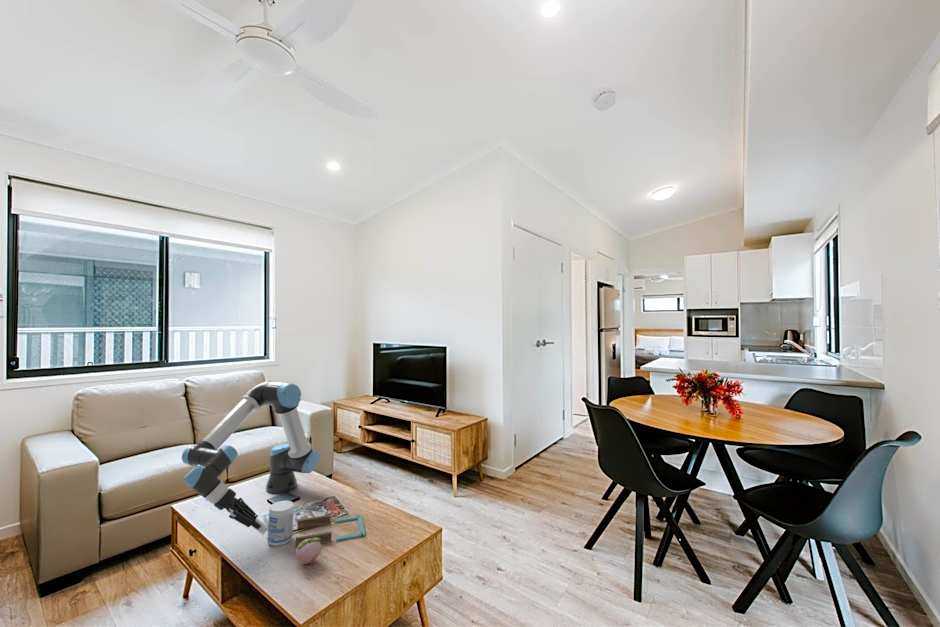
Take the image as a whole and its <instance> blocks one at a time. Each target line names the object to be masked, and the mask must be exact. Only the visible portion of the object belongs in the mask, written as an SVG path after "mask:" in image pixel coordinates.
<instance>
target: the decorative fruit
mask: <svg viewBox="0 0 940 627" xmlns="http://www.w3.org/2000/svg"><path fill="white" fill-rule="evenodd" d="M319 540H321V539H320V538H317V537H314V538H308V539H306V540H304V541H302V542H301V543H300V544H299V545H298V547H297V548H295V555H296V559H297V561H298V563H300V564H302V565H310V564H311V563H313V562H314V561H315V560H316V559H317V558H318V557H319V556H320V554H321V552H322V543H320V542H319Z"/></svg>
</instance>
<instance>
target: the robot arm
mask: <svg viewBox="0 0 940 627" xmlns="http://www.w3.org/2000/svg"><path fill="white" fill-rule="evenodd" d="M301 398H302V391H301V389H300V387H299V385H297V384H295V383H291V382H288V381H287V382H282V381H281V382H280V381H272V380H267V381H262V382H261V383H258V384H256V385H255V386H253V387H252V388H250V389H249V390H248V391H247V392H246V393H244V394H243V395H242V396H241V398H240V401H239V403H238V404H237V405H236V406H235V407H234V408H232V409H231V411H230V412H228V413H227V415H225V417H223V418H222V419H221V421H220V422H219V423H217V425H216V426H215V427H213V428H212V429H211V430H210V432H208V433H207V435H205V436H204V438H202V439H201V440H200V441H199V442H198V443H197V444H196V445H190V446H188V447H186V448H185V449H184V450H183V452H182V454H181V461H182V463H184V464H185V465H189V466H192V467H193V466H194V467H193V468H192V469H191V470H190V471H189V472H188V473H187V474H186V475H185V476H184V477H183V482H184V484H186V485H187V486H188V487H189V488H190V489H192V490H193V491H195V493H197V494H199V495H200V496H201V497H202V498H204V499H205V501H206V502H209V503H210V504H212V505H213V506H214V507H215V508H217V509H218V510H219V511H223V510H224V509H225V510H226V511H227V512H228V513H229V514H230V515H229V516H228V517H229V518H230V519H233V520H235V521H237V522H238V523H240V524H242V525H244V526H245V527H247V528H250V527H252V528H253V529H255V530H256V531H257V532H259V533H260V534H262V535H264V534H265V533H266V532H268V525H266V524H265V523H264V522H262V521H261V520H260V519H259V518H258V517H259V515H258V514H257V513H256V512H255V511H254V510H253V509H252V508H251V507H250V506H249V505H248V504H247V503H246V502H245V501H244V499H243V498H242V497H239V498H237V497H236V496H237V493H236V492H235V491H234V490H233V489H231V488H229V486H228V485H227V484H226V483H224V482H223V481H222V480H220V479H219V477H220V476H221V475H222V474H223V472H225V471H226V470H227V469H228V467H229V466H231V465H232V464H233V462H234V461H235V460H236V459H237V457H238V451H237V449H236V448H235V447H234V446H232V445H230V444H224V443H225V442H226V441H227V440H228V439H229V438H230V436H231V435H232V434H233V433H235V431H236V430H237V429H238V428H239V427H240V426H241V425H242V424H243V423H244V422H245V421H246V419H248V418H249V417H250V416H251V414H252V413H253V412H255V411H258V410H259V409H260V408H261V407H263V406H266V405H267V406H272V409H273V412H274V413H275V415H278V416H279V419H280V423H281V425H282V428H283V432H284V434H285V435H284V436H285V438H286V441H287V443H286V442H285V443H280V444H277V445H275V446H273V447H272V448H271V449H270V454H269V456H270V457H269V468H270V469H269V470H270V472H269V477H268V480H267V481H266V482H267V483H266V486H265V491H266V492H267V493H269V494H282V493H283V494H284V493H288V492H290V491H293V490H294V489H296V487H297V485H298V484H297V478H296V475H295V473H300V474H311V473H312V472H314V470H315V469H316V468H317V466H318V464H319V461H320V453H319V451H318V450H313V447H312V444H311V443H310V442H308V440H307V438H306V435H305V431H304V427H303V424H302V421H301V417H300V415H299V412H298V407H299V405H300V402H301V401H302V400H301ZM223 444H224V445H223ZM222 445H223V446H222Z"/></svg>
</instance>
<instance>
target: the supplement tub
mask: <svg viewBox="0 0 940 627" xmlns="http://www.w3.org/2000/svg"><path fill="white" fill-rule="evenodd" d="M294 508H295V506H294V502H293V501H290V500H281V501H280V500H279V501H276V502H274V503H272V504H271V505H270V506H269V511H268V524H267V526H268V530H267V537H266V538H267V543H268V544H269V545H270V546H275V547H276V546H282V545H285V544H287V543H289V541H291V540H292V539H293V528H294V510H295V509H294Z"/></svg>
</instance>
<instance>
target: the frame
mask: <svg viewBox="0 0 940 627" xmlns="http://www.w3.org/2000/svg"><path fill="white" fill-rule="evenodd" d="M356 520H357V525H358V528H359V529H358V530H359V532H355V533H350V534H344V535H339V536H336V538H335V540H336V542H340V541H345V540H352V539H357V538H363V537H366V530H365V526H364V521H363V516H362V514H359V515H357V514H356V515H353V516H352V515H351V516H347V517H345V516H344V517H339V518H335V519H334V523H335V524H336V523H337V524H338V523H343V522H344V523H345V522H350V521H356Z"/></svg>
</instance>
